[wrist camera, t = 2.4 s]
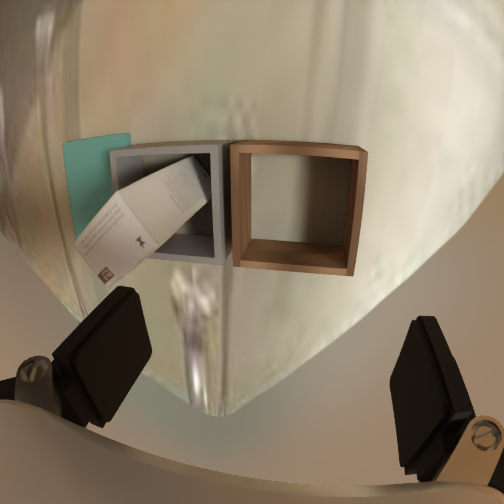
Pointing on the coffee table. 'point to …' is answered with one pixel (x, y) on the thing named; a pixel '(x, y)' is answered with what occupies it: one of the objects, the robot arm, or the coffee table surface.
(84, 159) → the teal pad
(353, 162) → the walnut bin
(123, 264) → the skincare box
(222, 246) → the grey bin
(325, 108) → the coffee table surface
